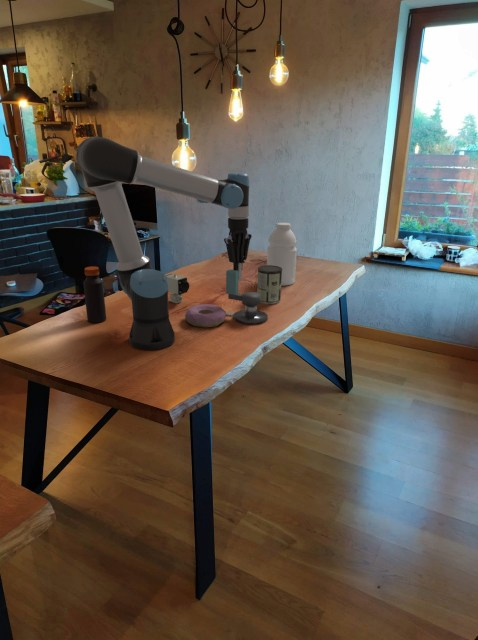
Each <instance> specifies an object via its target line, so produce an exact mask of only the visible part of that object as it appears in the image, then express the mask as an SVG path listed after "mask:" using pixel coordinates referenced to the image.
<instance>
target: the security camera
mask: <svg viewBox="0 0 478 640" xmlns="http://www.w3.org/2000/svg"><path fill="white" fill-rule="evenodd" d="M165 275H166V277H167V282H168V293H171V294H169V299H170V300H169V301H170V303H174V304H178V303H181V302H182V301H183V297H182V295H183V294H187V293H188V291H189V289H190V283H189V282H188V278H187V277H185V276H183V275H180V274H179V275H177V273H170V274H165Z"/></svg>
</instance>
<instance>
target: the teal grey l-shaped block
mask: <svg viewBox="0 0 478 640" xmlns="http://www.w3.org/2000/svg"><path fill="white" fill-rule="evenodd" d="M225 272H226V273H225V278H226V279H225V281H226V283H225V294H228V295H227V297H228V299H229V300H233V301H234V300H235V301H239V302H241V303H242V305H244V306H245V305H247V306H256V305H257V306H259V305H261V303H260V299H261V295H260V294H258V293H257V292H254V291H253V292H252V291H251V292H248V291H247V292H243V293H239V280H238V279H239V271H238V270H233V269H227V270H226V271H225Z"/></svg>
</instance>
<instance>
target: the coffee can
mask: <svg viewBox="0 0 478 640" xmlns="http://www.w3.org/2000/svg"><path fill="white" fill-rule="evenodd" d="M281 279H282V268H281V267H279V266H273V265H267V264H266V265H260V266H258V267H257V285H256V286H257V290H256V293H258V294H260V295H261V299H260V304H264V305H272V304H273V305H277V304H279V303H280V302H282V301H281V300H282V299H281V297H282V286H281Z"/></svg>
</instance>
